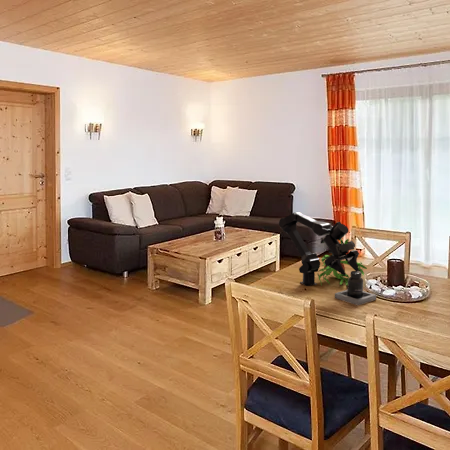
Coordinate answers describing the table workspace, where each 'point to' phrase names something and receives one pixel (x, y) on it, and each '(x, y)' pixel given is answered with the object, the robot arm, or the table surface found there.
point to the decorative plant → (329, 270)
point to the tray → (343, 296)
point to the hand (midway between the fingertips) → (351, 273)
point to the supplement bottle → (355, 285)
